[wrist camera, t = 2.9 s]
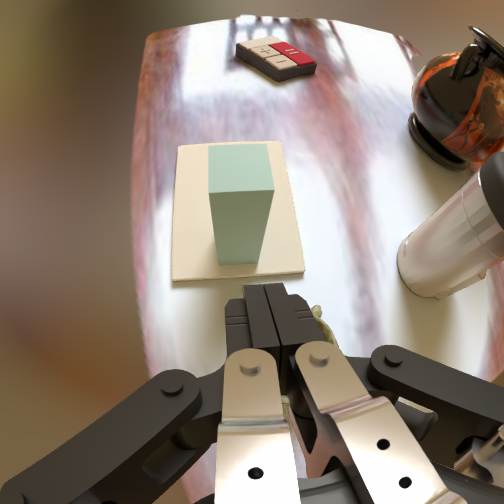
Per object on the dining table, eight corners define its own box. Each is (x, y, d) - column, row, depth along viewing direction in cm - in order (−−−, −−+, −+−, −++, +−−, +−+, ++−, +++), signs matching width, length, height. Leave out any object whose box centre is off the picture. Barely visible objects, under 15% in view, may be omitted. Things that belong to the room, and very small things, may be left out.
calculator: (280, 69, 44) (235, 40, 47) (276, 86, 48) (234, 55, 51) (319, 60, 47) (274, 33, 50) (314, 75, 51) (271, 47, 54)
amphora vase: (435, 109, 50) (481, 28, 24) (487, 179, 43) (555, 100, 17) (376, 107, 46) (424, -5, 21) (438, 191, 39) (530, 78, 13)
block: (258, 263, 31) (274, 190, 18) (218, 265, 31) (208, 192, 18) (254, 227, 33) (266, 143, 20) (217, 230, 32) (208, 145, 20)
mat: (304, 272, 32) (305, 270, 31) (173, 281, 31) (171, 279, 30) (279, 144, 40) (280, 141, 39) (179, 149, 38) (178, 145, 37)
